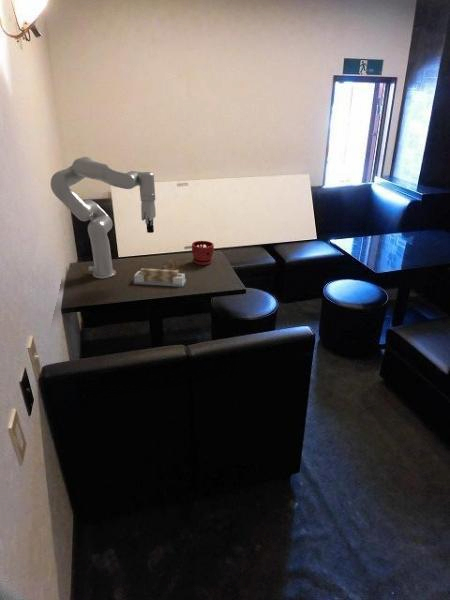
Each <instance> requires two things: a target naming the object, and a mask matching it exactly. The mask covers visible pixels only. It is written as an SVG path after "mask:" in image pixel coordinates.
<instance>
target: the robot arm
mask: <svg viewBox="0 0 450 600" xmlns="http://www.w3.org/2000/svg"><path fill="white" fill-rule="evenodd" d="M85 178H87V179H91V180H96V181H100V182H103V183H105V184H108V185H110V186H112V187H114V188H119V189H124V190H132V189H134V188H135V187H138V186H139V196H140V197H139V198H140V202H141V203H140V208H141V209H140V210H141V211H140V213H141V220H142V221H145V224H146V233H149V234H152V233H154V231H155V226H154V219H155V218H156V214H157V213H156V212H157V211H156V205H155V201H156V190H155V175H154V173H153V172H151V171H135V170H131V171H128V172H120V171H116V170H114V169H111V168H110V167H109V166H108V165H107V164H106V163H102V162H97V161H94V160H93V159H92V158H91V157H88V156H83V157H80V158H77V159H74V160H73V162H72V165H71V166H69V167H67V168H65V169H62V170H57V172H55V173H54V174H53V175H52V176H51V179H50V189H51V191H52V193H53V194H54V196H55V197H56V198H57V199H58V200H59V201H60V202H61V203H63V205H64V206H66V208H67V209H68V210H69V211H70V212H71V213H72V214H73V215H74V217H76V218H77V219H78V220H79V221H82V222H87V221H90V222H89V224H88V225H87V232H88V233H87V234H88V237H89V239H90V245H91V251H92V258H93V266H88V271H89V272H92V277H93V278H95V279H109V278H111V277H114V276H116V274H117V271H116V270H115V269H114V268H113V261H112V253H111V245H110V239H109V237H108V233H109V232H110V230H112V228H113V225H114V224H113V220H112V219H111V217H110V216H109V215H108V213H106V211H105V210H104V209H103V208H101V206H100V205H99V204H98V203H97V202H95V201H93V200H92V199H85V200H83V199H82V197H81V196H79V194H77V192H75V191H74V190H72V189H71V188H70V187H72V186H73V185H75V184H77V183H79V182H81V181H82V180H83V179H85Z"/></svg>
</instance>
